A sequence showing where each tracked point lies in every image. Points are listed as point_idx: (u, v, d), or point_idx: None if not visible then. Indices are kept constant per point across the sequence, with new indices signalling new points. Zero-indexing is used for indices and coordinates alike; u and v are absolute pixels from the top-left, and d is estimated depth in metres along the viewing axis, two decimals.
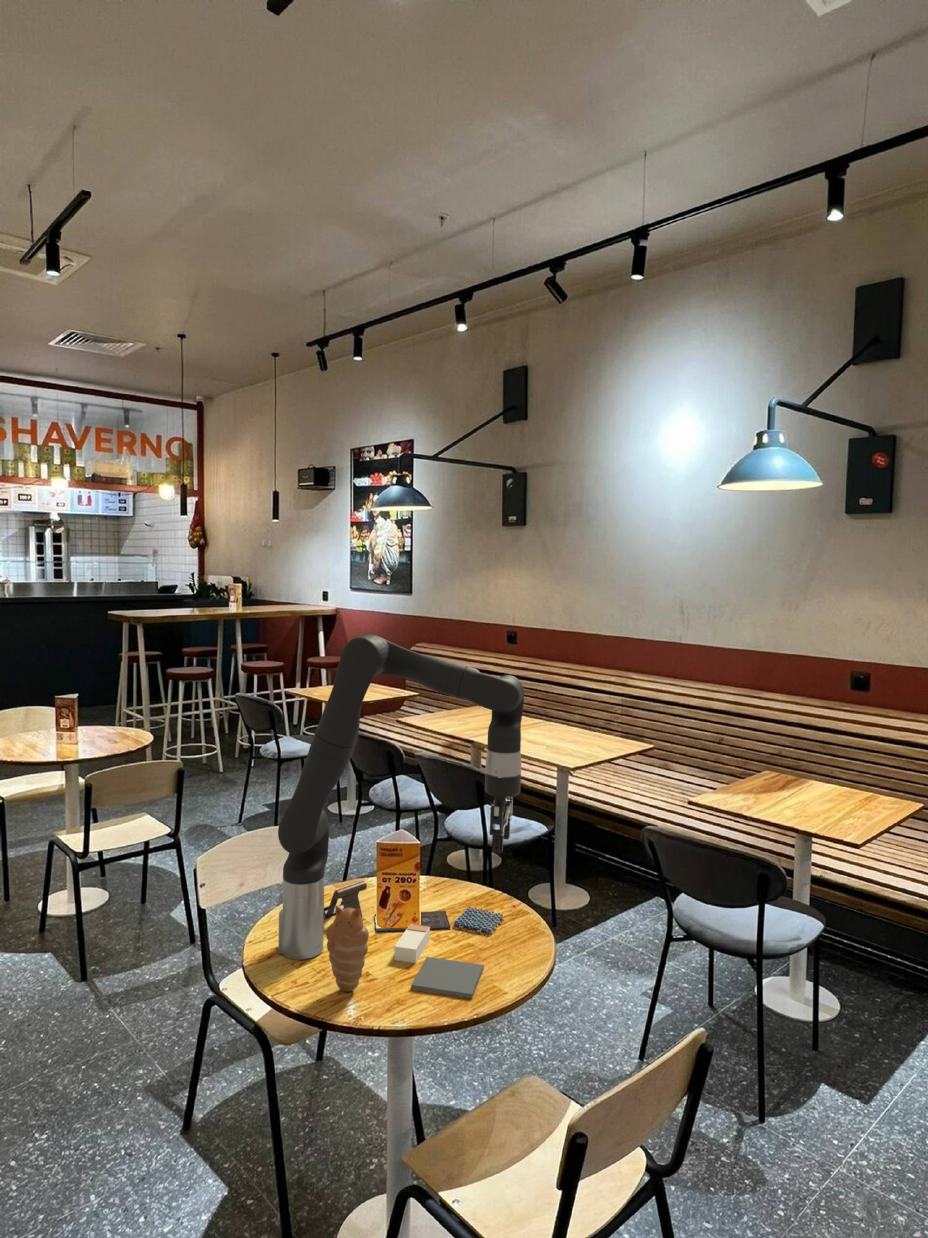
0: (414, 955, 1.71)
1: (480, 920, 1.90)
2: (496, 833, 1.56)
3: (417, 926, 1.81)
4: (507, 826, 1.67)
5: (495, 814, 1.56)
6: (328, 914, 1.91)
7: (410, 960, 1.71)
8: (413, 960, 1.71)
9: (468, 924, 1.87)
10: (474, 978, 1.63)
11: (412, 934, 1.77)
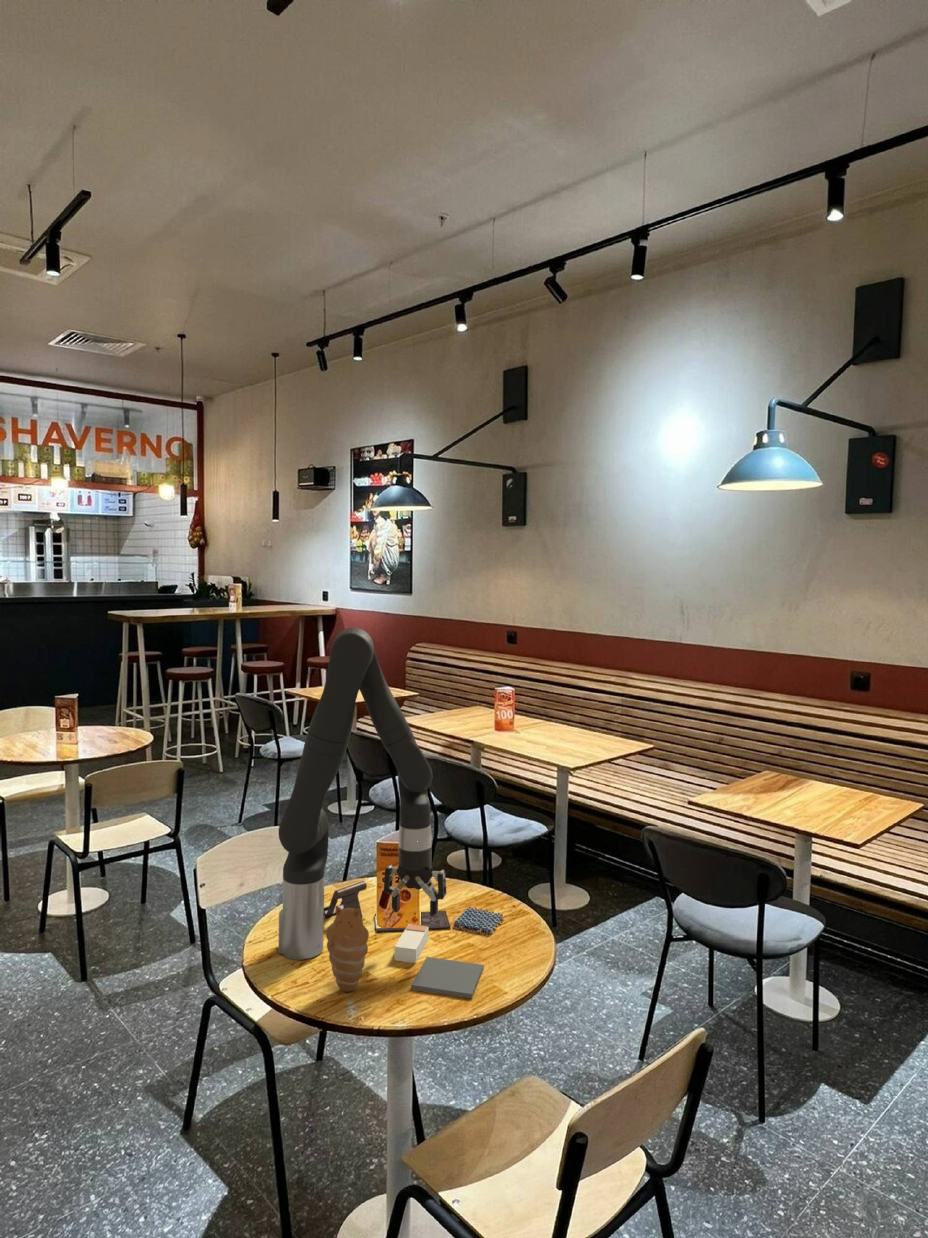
0: (414, 955, 1.71)
1: (480, 920, 1.90)
2: (444, 894, 1.74)
3: (416, 926, 1.81)
4: (399, 897, 1.77)
5: (444, 878, 1.73)
6: (328, 914, 1.91)
7: (410, 960, 1.71)
8: (413, 960, 1.71)
9: (468, 924, 1.87)
10: (474, 978, 1.63)
11: (412, 934, 1.77)
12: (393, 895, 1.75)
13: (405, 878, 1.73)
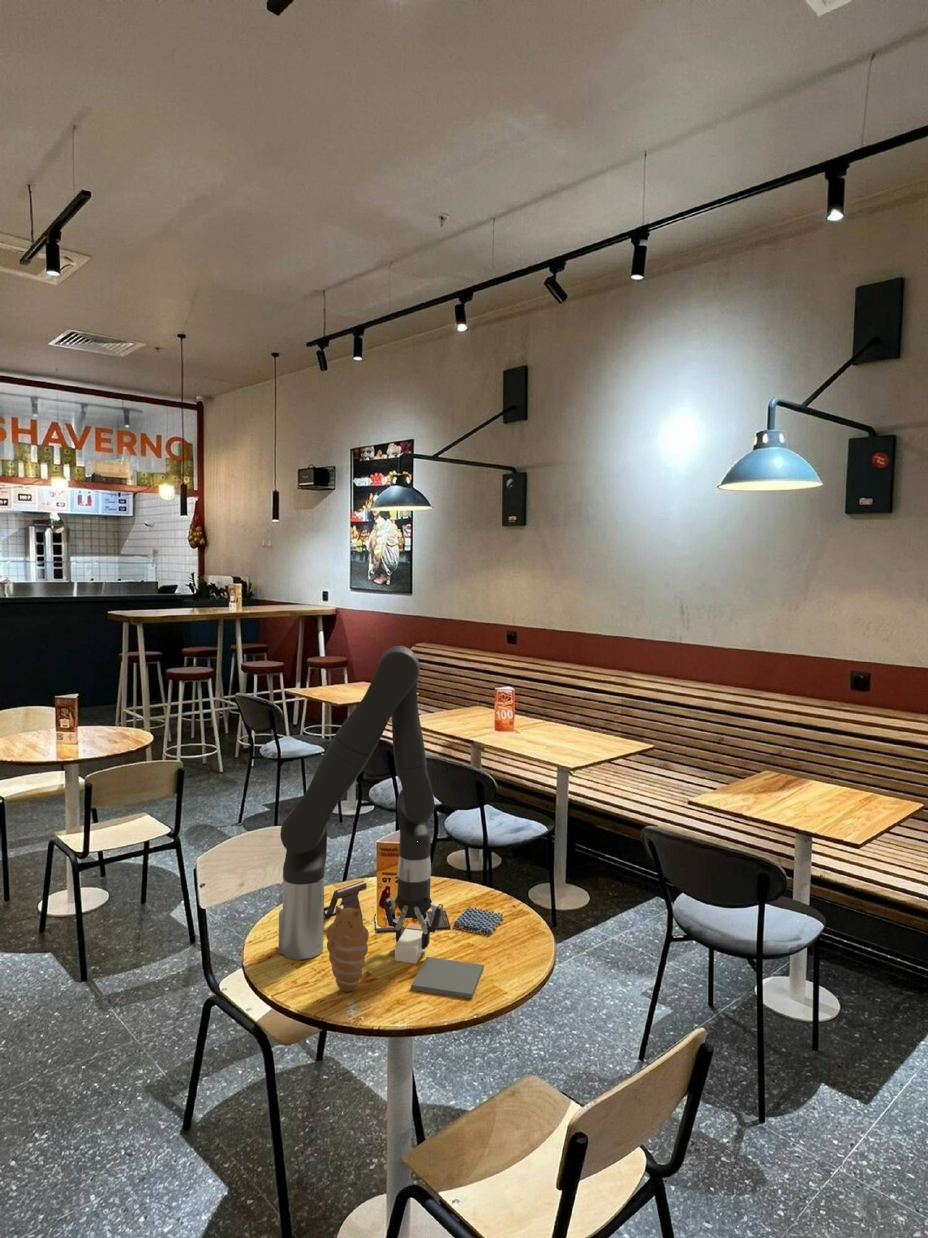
0: (415, 954, 1.71)
1: (480, 920, 1.90)
2: (436, 928, 1.75)
3: (416, 925, 1.81)
4: (403, 931, 1.77)
5: (440, 913, 1.74)
6: (328, 914, 1.91)
7: (411, 959, 1.71)
8: (414, 959, 1.71)
9: (468, 924, 1.87)
10: (474, 978, 1.63)
11: (412, 933, 1.77)
12: (397, 929, 1.76)
13: (404, 908, 1.74)
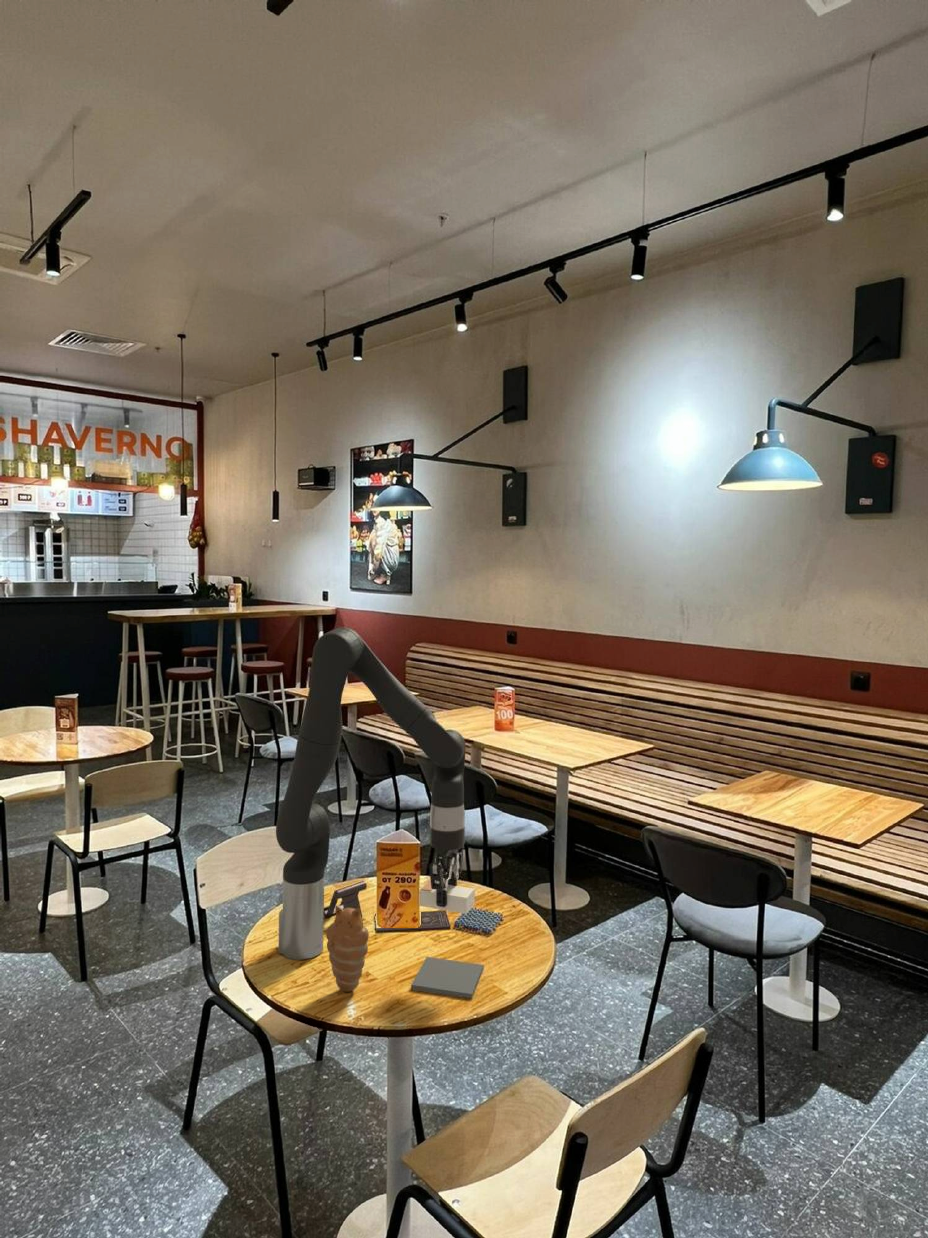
0: (474, 896, 1.66)
1: (480, 920, 1.90)
2: None
3: (427, 885, 1.67)
4: None
5: None
6: (328, 914, 1.91)
7: (472, 903, 1.65)
8: (473, 901, 1.66)
9: (468, 924, 1.87)
10: (474, 978, 1.63)
11: None
12: (446, 888, 1.62)
13: (452, 861, 1.64)
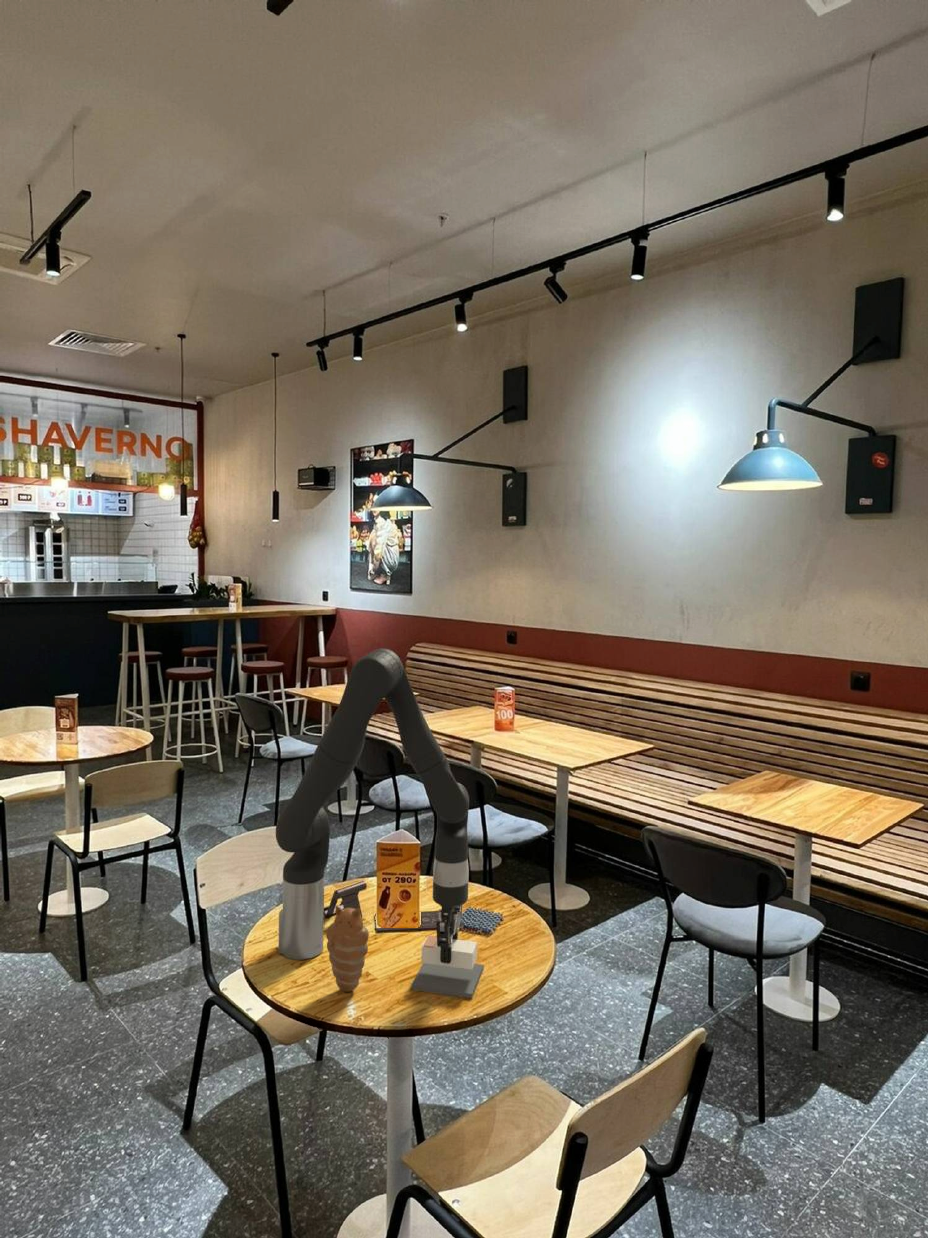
0: (476, 949, 1.65)
1: (480, 920, 1.90)
2: None
3: (429, 941, 1.64)
4: None
5: None
6: (328, 914, 1.91)
7: (475, 957, 1.64)
8: (476, 954, 1.65)
9: (468, 924, 1.87)
10: (474, 978, 1.63)
11: None
12: (451, 945, 1.60)
13: (457, 917, 1.61)
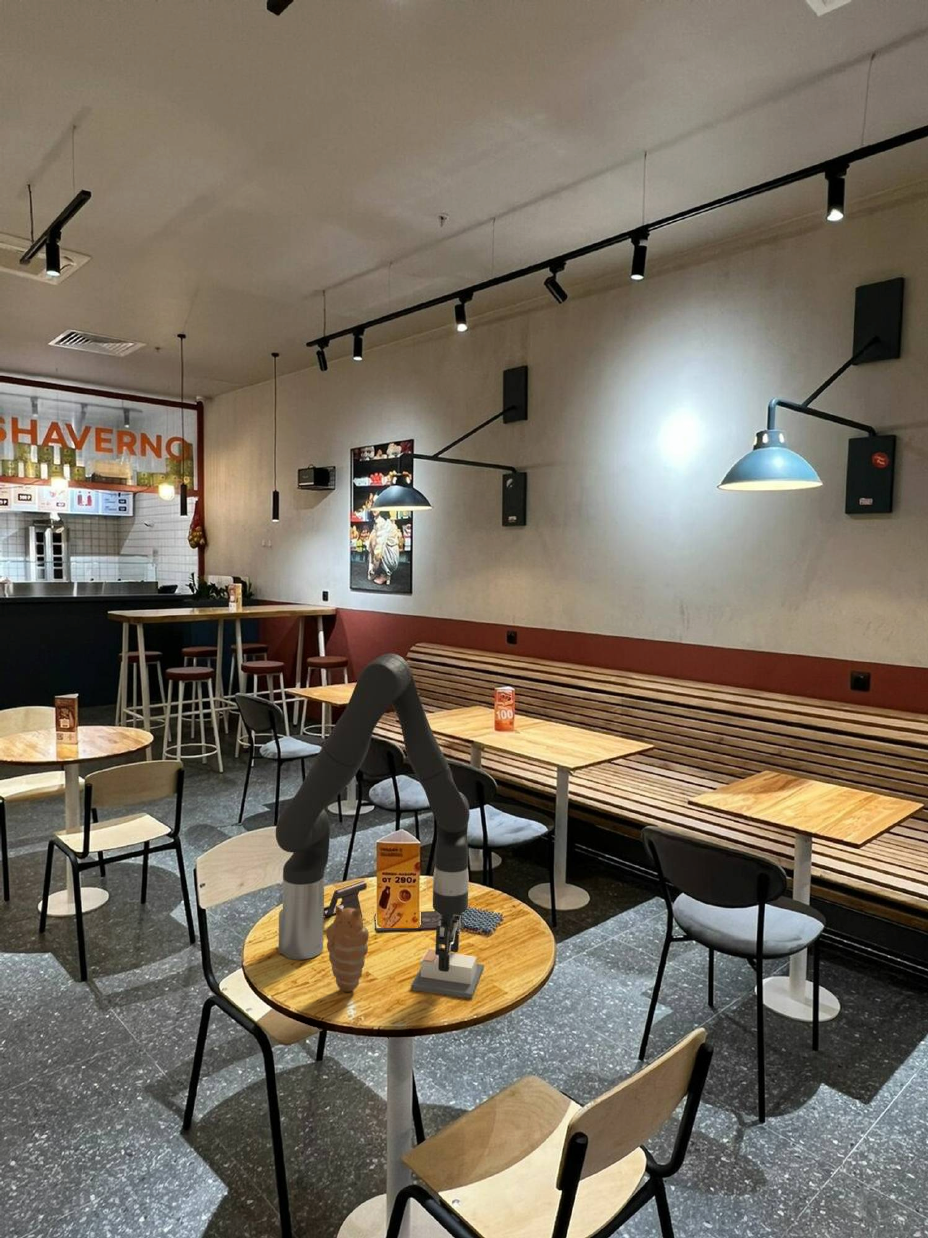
0: None
1: (480, 920, 1.90)
2: None
3: (428, 955, 1.65)
4: None
5: None
6: (328, 914, 1.91)
7: (475, 971, 1.64)
8: (475, 969, 1.65)
9: (468, 924, 1.87)
10: (474, 978, 1.63)
11: None
12: (449, 953, 1.59)
13: (457, 925, 1.62)
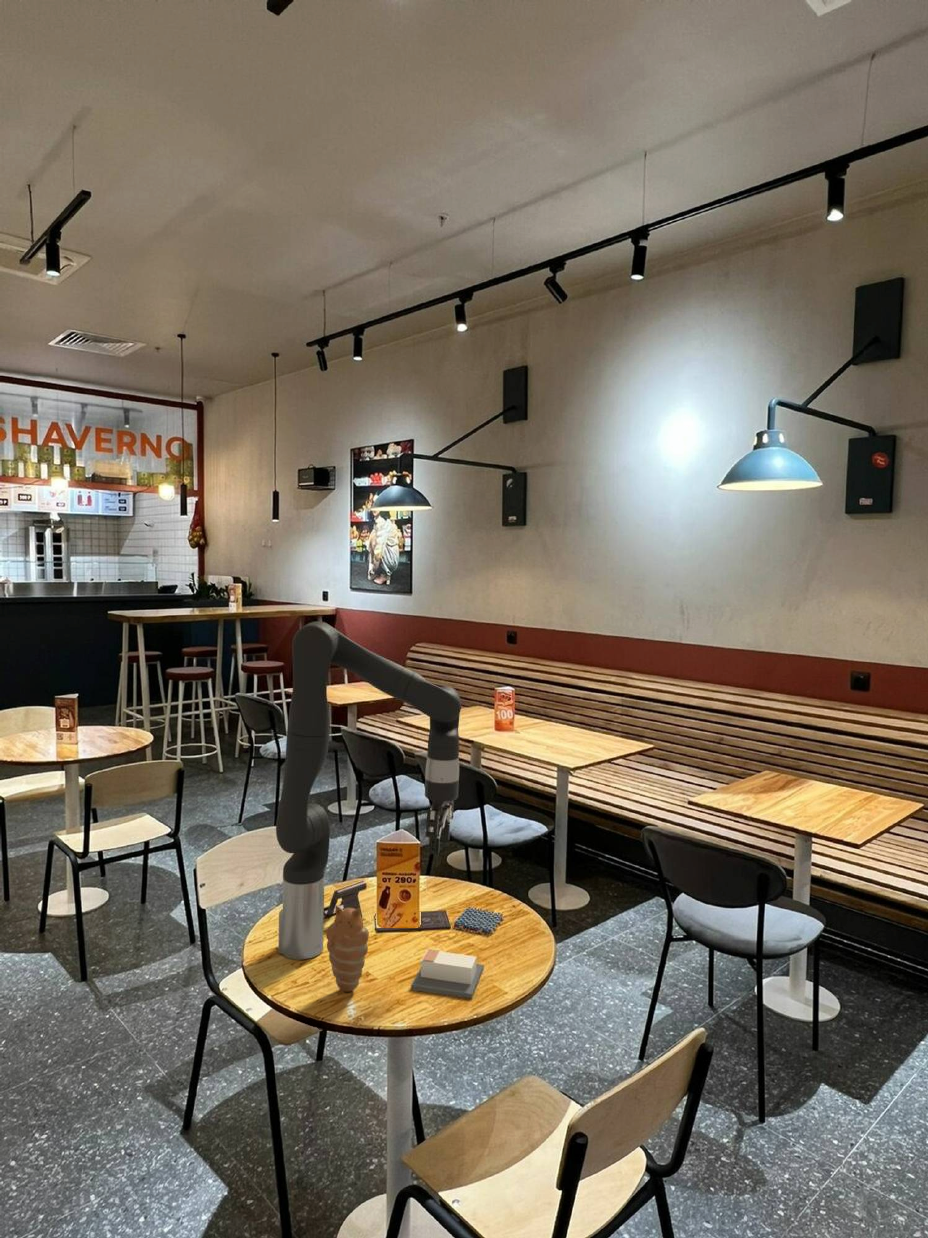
0: None
1: (480, 920, 1.90)
2: None
3: (428, 955, 1.65)
4: None
5: None
6: (328, 914, 1.91)
7: (475, 971, 1.64)
8: (475, 969, 1.65)
9: (468, 924, 1.87)
10: (474, 978, 1.63)
11: (445, 958, 1.64)
12: (439, 836, 1.68)
13: (447, 812, 1.70)
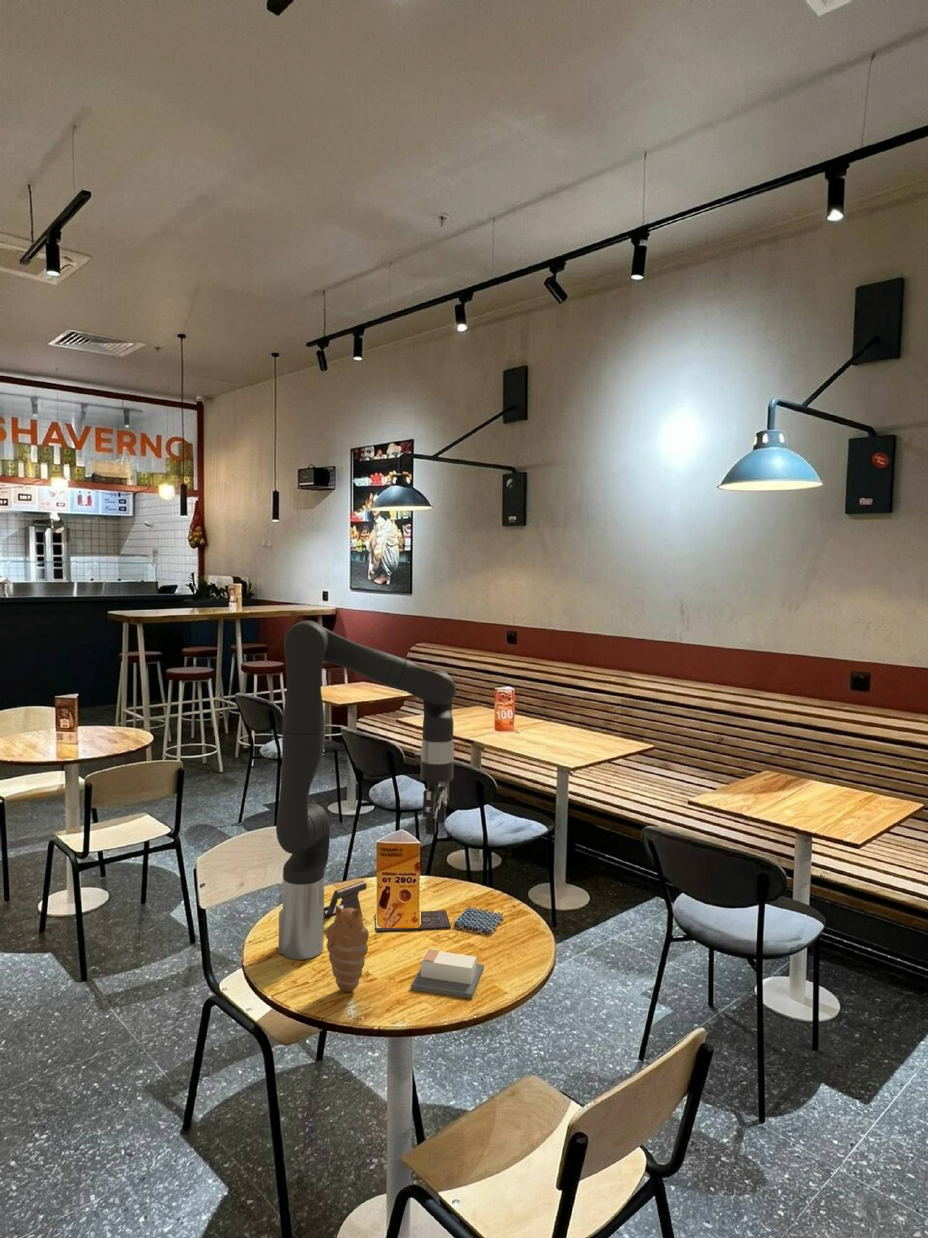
0: None
1: (480, 920, 1.90)
2: None
3: (428, 955, 1.65)
4: None
5: None
6: (328, 914, 1.91)
7: (475, 971, 1.64)
8: (475, 969, 1.65)
9: (468, 924, 1.87)
10: (474, 978, 1.63)
11: (445, 958, 1.64)
12: (436, 816, 1.72)
13: (443, 793, 1.74)
